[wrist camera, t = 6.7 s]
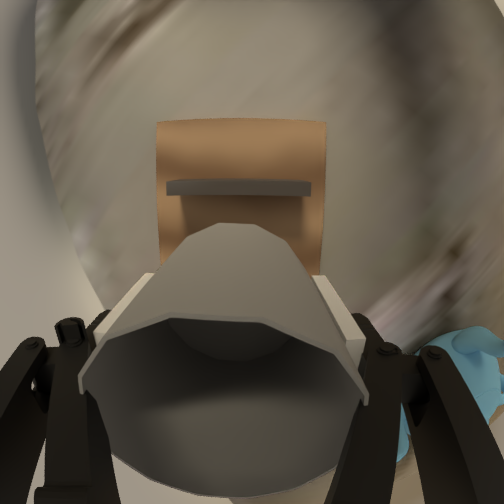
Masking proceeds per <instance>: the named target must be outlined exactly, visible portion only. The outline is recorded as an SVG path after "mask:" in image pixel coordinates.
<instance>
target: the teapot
mask: <svg viewBox="0 0 504 504" xmlns="http://www.w3.org/2000/svg"><path fill="white" fill-rule="evenodd" d="M428 345H436V346H439V347H441V348H443V349H444V350H446V351H447V352H448V354H449V355H450V357H451V359H452V360H453V362H454V363H455V365H456V367H457V369H458V370H459V372H460V374H461V375H462V377H463V379H464V381H465V382H466V384H467V386H468V388H469V390H470V391H471V393H472V395H473V397H474V399H475V401H476V402H477V404H478V406H479V408H480V410H481V412H482V414H483V416H484V418H485V420H486V422H487V424H489V418H490V417H491V416H492V414H493V413H494V411H495V410H496V408H497V406H500V405H503V404H504V394H501V390H502V392H503V393H504V376H503V375H502V374H501V373H500V372H499V366H498V361H497V358H496V357H498V358H501V357H504V340H501V339H499V338H498V337H497V336H495V335H494V334H493V333H492V332H491V331H489V330H488V329H486V328H484V327H481V326H472V327H469V328H466V329H462V330H457V331H452V332H449V333H446V334H443V335H441V336H439V337H436V338H435V339H433V340H431V341H430V342H428V343H427V344H425V345H424V346H428ZM424 346H423V347H424ZM420 350H421V348H420V349H419V350H418V351H417V352H416V353H415V354H414V355H417V356H418V355H419V352H420ZM407 434H409V435H410V432H409V428H408V424H407V420H406V417H405V413H404V409H403V406H402V403H401V419H400V433H399V444H398V453H397V461H396V463H397V462H398V461H400V460H401V459H402V458H403V457H404V456H405V455H406V453H407V452H408V448H409V440H408V436H407Z"/></svg>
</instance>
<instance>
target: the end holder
mask: <svg viewBox="0 0 504 504" xmlns="http://www.w3.org/2000/svg"><path fill="white" fill-rule="evenodd" d="M325 167H326V122H316V121H303V120H287V119H260V118H220V119H193V120H176V121H164V122H157V143H156V174H157V211H158V231H159V247H160V260H161V265H162V264H163V263H164V262H165V261H166V260H167V259H168V257H169V256H170V255H171V254H172V253H173V252H174V251H175V250H176V248H177V247H178V246H179V245H180V244H181V243H182V242H183V241H184V239H185V238H186V237H187V236H190V235H192V234H194V233H196V232H199V231H201V230H203V229H206V228H208V227H210V226H212V225H215V224H217V223H237V224H255V225H257V226H259V227H261V228H263V229H265V230H266V231H268V232H270V233H272V234H274V235H276V236H278V237H279V238H281V239H283V240H285V241H286V242H287V243H288V245H289V246H290V248H291V249H292V250H293V252H294V253H295V255H296V256H297V258H298V259H299V260H300V262H301V263H302V265H303V266H304V268H305V269H306V271H307V273H308V275H309V277H310V279H311V277H312V275H319V269H320V257H321V245H322V230H323V214H324V194H325Z"/></svg>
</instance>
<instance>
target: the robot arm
mask: <svg viewBox="0 0 504 504" xmlns="http://www.w3.org/2000/svg"><path fill="white" fill-rule="evenodd" d="M154 274H155V273H145V274H144V275H143V276H142V277H141V278H140V280H139V281H138V282H137V283H136V284H135V285H134V286H133V287H132V288H131V289H130V290H129V292H128V293H127V294H126V295H125V296H124V297H123V298H122V299H121V300H120V302H119V303H118V304H117V305H116V306H115V307H114V308H113V309H112V310H106V311H104V312H102V313H100V314H99V315H98V317H96V318H95V320H94V321H93V322H92V323H91V325H89V326H88V327H87V328H86V329H85V325H84V321H83V320H82V319H81V318H77V317H70V318H65V319H63V320H60V321H59V322H58V323H56V325H55V326H54V327H55V330H56V334H57V337H58V340H59V343H60V346H59V347H46V345H45V341H44V339H42V338H40V337H30V338H27V339H26V340H24V341H23V342H22V343H20V345H19V346H18V347H17V349H16V350H15V351H14V353H13V354H12V355H11V357H10V358H9V360H8V361H7V362H6V364H5V365H4V366H3V368H2V369H1V371H0V504H26V502H27V498H28V493H29V490H30V486H31V483H32V479H33V475H34V472H35V469H36V466H37V462H38V459H39V456H40V453H41V450H42V447H43V444H44V441H45V438H46V444H45V482H44V486H43V487H37V488H36V489H35V492H34V504H121V501H120V497H119V493H118V489H117V483H116V479H115V473H114V468H113V462H112V457H111V449H110V442H109V437H108V434H107V431H106V428H105V425H104V422H103V419H102V416H101V413H100V410H99V407H98V404H97V400H96V399H95V398H94V397H93V396H92V395H91V394H90V393H89V391H88V390H86V391H85V393H84V394H80V391H79V383H78V374H79V373H80V371H81V369H82V368H83V366H84V365H85V363H86V362H87V360H88V358H89V357H90V355H91V354H92V352H93V351H94V349H95V348H96V346H97V345H98V343H99V342H100V340H101V339H102V337H103V336H104V335H105V333H106V332H107V331H108V329H109V328H110V327H111V326H112V324H113V323H114V322H115V321H116V319H117V318H118V317H119V316H120V314H121V313H122V312H123V311H124V310H125V308H126V307H127V306H128V305H129V303H130V302H131V301H132V300H133V299H134V297H135V296H136V295H137V294H138V293H139V291H140V290H141V289H142V288H143V287H144V285H145V284H146V283H147V282H148V281H149V279H150V278H151V277H152V276H153V275H154ZM311 280H312V282H313V284H314V286H315V288H316V290H317V292H318V294H319V295H320V297H321V299H322V301H323V303H324V305H325V307H326V309H327V311H328V313H329V315H330V316H331V318H332V320H333V322H334V324H335V326H336V328H337V330H338V332H339V334H340V336H341V338H342V340H343V342H344V344H345V346H346V348H347V350H348V352H349V354H350V356H351V358H352V360H353V362H354V364H355V366H356V368H357V370H358V372H359V374H360V376H361V378H362V380H363V382H364V384H365V386H366V388H367V390H368V393H369V401H368V405H366V406H364V405H363V403H362V400H361V398H360V401H359V403H358V406H357V408H356V411H355V413H354V415H353V418H352V422H351V425H350V428H349V431H348V434H347V437H346V440H345V443H344V446H343V449H342V452H341V455H340V459H339V462H338V465H337V468H336V471H335V474H334V477H333V480H332V483H331V486H330V489H329V491H328V494H327V497H326V499H325V502H324V504H390V499H391V494H392V488H393V482H394V476H395V469H396V461H397V453H398V444H399V433H400V419H401V403H402V406H403V409H404V413H405V417H406V420H407V424H408V428H409V432H410V436H411V439H412V444H413V448H414V452H415V456H416V461H417V465H418V470H419V475H420V479H421V485H422V490H423V495H424V501H425V504H504V459H503V457H502V455H501V452H500V450H499V448H498V445H497V443H496V441H495V439H494V437H493V434H492V433H491V430H490V428H489V426H488V424H487V422H486V420H485V418H484V416H483V414H482V412H481V410H480V408H479V406H478V404H477V402H476V401H475V399H474V397H473V395H472V393H471V391H470V390H469V388H468V386H467V384H466V382H465V381H464V379H463V377H462V375H461V374H460V372H459V370H458V369H457V367H456V365H455V363H454V362H453V360H452V359H451V357H450V355H449V354H448V352H447V351H446V350H444V349H443V348H441V347H439V346H436V345H428V346H424V347H422V348H421V350H420V352H419V355H418V356H417V355H405V354H402V352H401V349H400V348H399V347H398V346H396V345H394V344H392V343H389V342H384V340H383V339H382V338H381V336H380V335H379V333H378V332H377V331H376V329H375V328H374V327H373V325H371V322H370V321H369V320H368V318H366V317H365V316H363V315H362V314H360V313H355V314H350V312H349V311H348V309H347V308H346V306H345V305H344V303H343V302H342V300H341V299H340V297H339V296H338V294H337V293H336V291H335V290H334V288H333V287H332V285H331V284H330V282H329V281H328V279H327V278H326V276H325V275H312V277H311ZM32 381H33V384H34V388H33V390H32V389H31V384H32Z"/></svg>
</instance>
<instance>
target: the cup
mask: <svg viewBox="0 0 504 504" xmlns="http://www.w3.org/2000/svg"><path fill="white" fill-rule="evenodd" d="M78 383H79V391H80V394H84V393H85V391H86V390H88V391H89V393H90V394H91V395H92V396H93V397H94V398H95V399H96V400H97V404H98V407H99V410H100V413H101V416H102V419H103V422H104V425H105V428H106V431H107V434H108V437H109V442H110V449H111V454H112V455H114V456H115V457H116V458H118V459H119V460H121V461H122V462H124V463H125V464H126V465H128V466H129V467H131V468H132V469H134V470H135V471H137V472H139V473H140V474H142V475H143V476H145V477H146V478H148V479H150V480H152V481H154V482H157V483H160V484H163V485H166V486H169V487H171V488H175V489H178V490H181V491H184V492H187V493H191V494H194V495H198V496H208V497H220V498H239V499H249V498H255V497H261V496H267V495H272V494H277V493H282V492H286V491H291V490H295V489H297V488H300V487H302V486H304V485H306V484H308V483H310V482H312V481H314V480H315V479H317V478H319V477H321V476H323V475H325V474H327V473H328V472H330V471H332V470H334V469H335V468H337V465H338V462H339V459H340V455H341V452H342V449H343V446H344V443H345V440H346V437H347V434H348V431H349V428H350V425H351V422H352V418H353V415H354V413H355V411H356V408H357V406H358V403H359V401H360V398H361V400H362V403H363V405H364V406H366V405H368V401H369V393H368V390H367V388H366V386H365V384H364V382H363V380H362V378H361V376H360V374H359V372H358V370H357V368H356V366H355V364H354V362H353V360H352V358H351V356H350V354H349V352H348V350H347V348H346V346H345V344H344V342H343V340H342V338H341V336H340V334H339V332H338V330H337V328H336V326H335V324H334V322H333V320H332V318H331V316H330V315H329V313H328V311H327V309H326V307H325V305H324V303H323V301H322V299H321V297H320V295H319V294H318V292H317V290H316V288H315V286H314V284H313V282H312V280H311V279H310V277H309V275H308V273H307V271H306V269H305V268H304V266H303V265H302V263H301V262H300V260H299V259H298V258H297V256H296V255H295V253H294V252H293V250H292V249H291V248H290V246H289V245H288V243H287V242H286V241H285V240H283V239H281V238H279V237H278V236H276V235H274V234H272V233H270V232H268V231H266V230H265V229H263V228H261V227H259V226H257V225H255V224H237V223H217V224H215V225H212V226H210V227H208V228H206V229H203V230H201V231H199V232H196V233H194V234H192V235H190V236H187V237H186V238H185V239H184V241H183V242H182V243H181V244H180V245H179V246H178V247H177V248H176V250H175V251H174V252H173V253H172V254H171V255H170V256H169V257H168V259H167V260H166V261H165V262H164V263H163V264H162V265H161V267H160V268H159V269H158V270H157V271H156V272H155V274H154V275H153V276H152V277H151V278H150V279H149V281H148V282H147V283H146V284H145V285H144V287H143V288H142V289H141V290H140V291H139V293H138V294H137V295H136V296H135V297H134V299H133V300H132V301H131V302H130V303H129V305H128V306H127V307H126V308H125V310H124V311H123V312H122V313H121V314H120V316H119V317H118V318H117V319H116V321H115V322H114V323H113V324H112V326H111V327H110V328H109V329H108V331H107V332H106V333H105V335H104V336H103V337H102V339H101V340H100V342H99V343H98V345H97V346H96V348H95V349H94V351H93V352H92V354H91V355H90V357H89V358H88V360H87V362H86V363H85V365H84V366H83V368H82V369H81V371H80V373H79V374H78Z"/></svg>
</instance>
